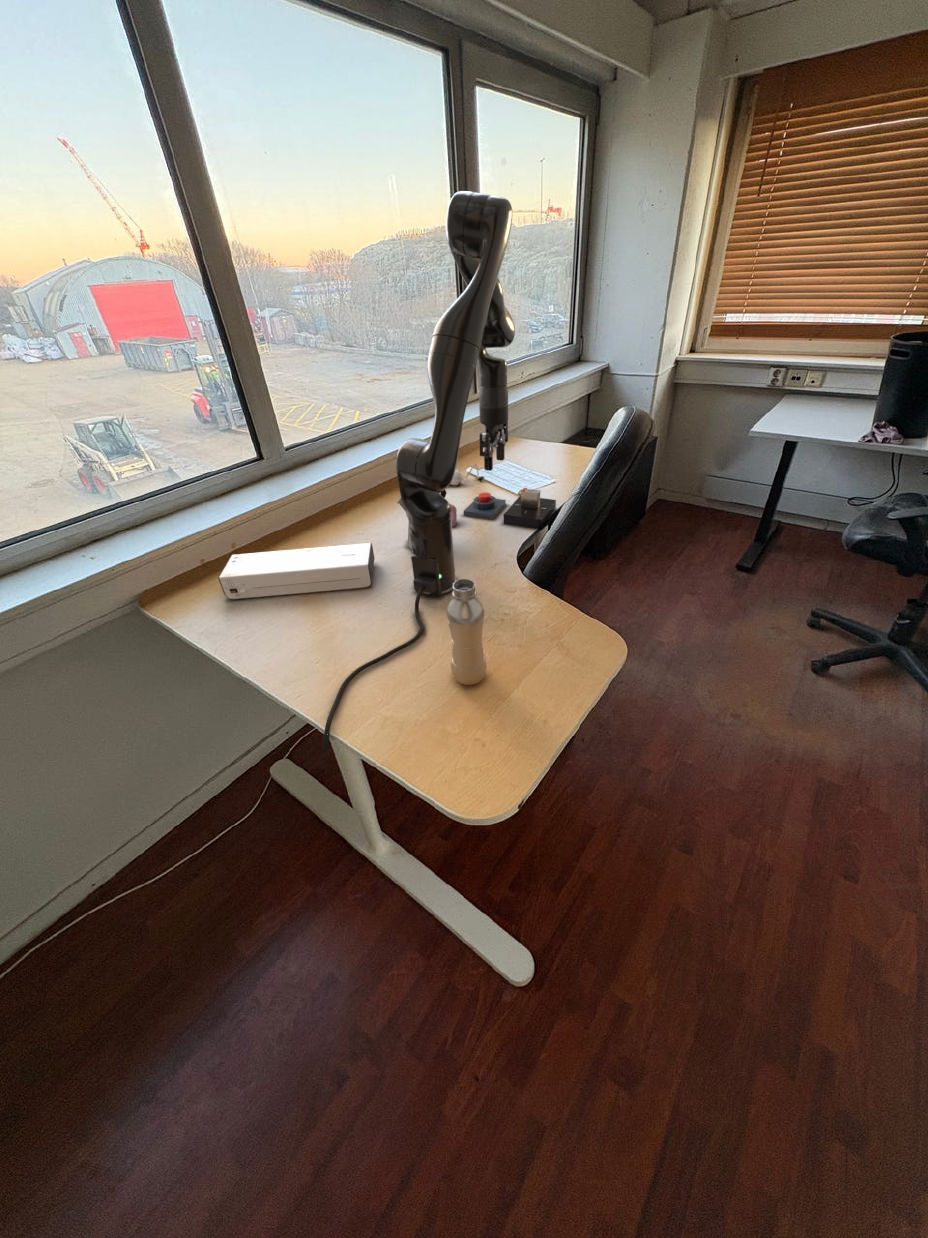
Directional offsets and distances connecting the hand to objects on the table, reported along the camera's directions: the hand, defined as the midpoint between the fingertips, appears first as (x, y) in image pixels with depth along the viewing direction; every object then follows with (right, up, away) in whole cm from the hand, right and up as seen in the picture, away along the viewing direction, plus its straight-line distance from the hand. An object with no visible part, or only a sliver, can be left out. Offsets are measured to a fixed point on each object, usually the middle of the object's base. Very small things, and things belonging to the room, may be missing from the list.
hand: (494, 464), depth 141 cm
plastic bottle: (-8, -54, -49) cm, 73 cm away
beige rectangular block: (+10, -11, +3) cm, 15 cm away
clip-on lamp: (-11, +3, +30) cm, 32 cm away
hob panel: (+11, -14, +4) cm, 18 cm away
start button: (-2, -8, +8) cm, 11 cm away
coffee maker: (-18, -23, -5) cm, 30 cm away
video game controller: (-15, -16, +4) cm, 22 cm away
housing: (-2, -11, +9) cm, 14 cm away
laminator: (-47, -34, -19) cm, 61 cm away
